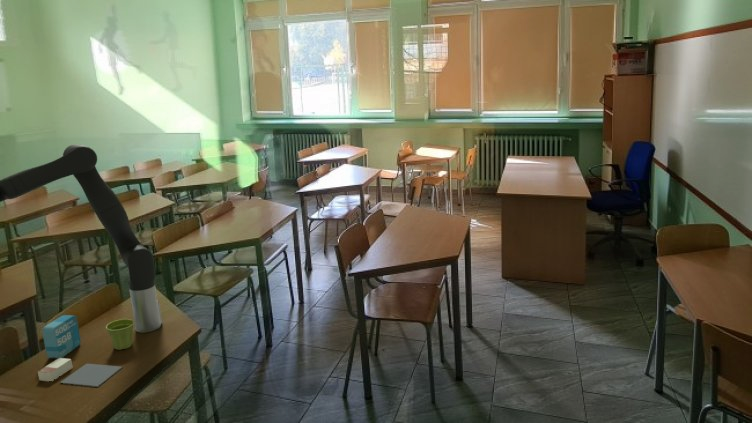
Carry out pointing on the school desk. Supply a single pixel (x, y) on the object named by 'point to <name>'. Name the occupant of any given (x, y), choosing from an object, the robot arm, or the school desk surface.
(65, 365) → the white rectangular block
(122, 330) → the plant pot
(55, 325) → the data package
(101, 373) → the mat
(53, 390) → the school desk surface
